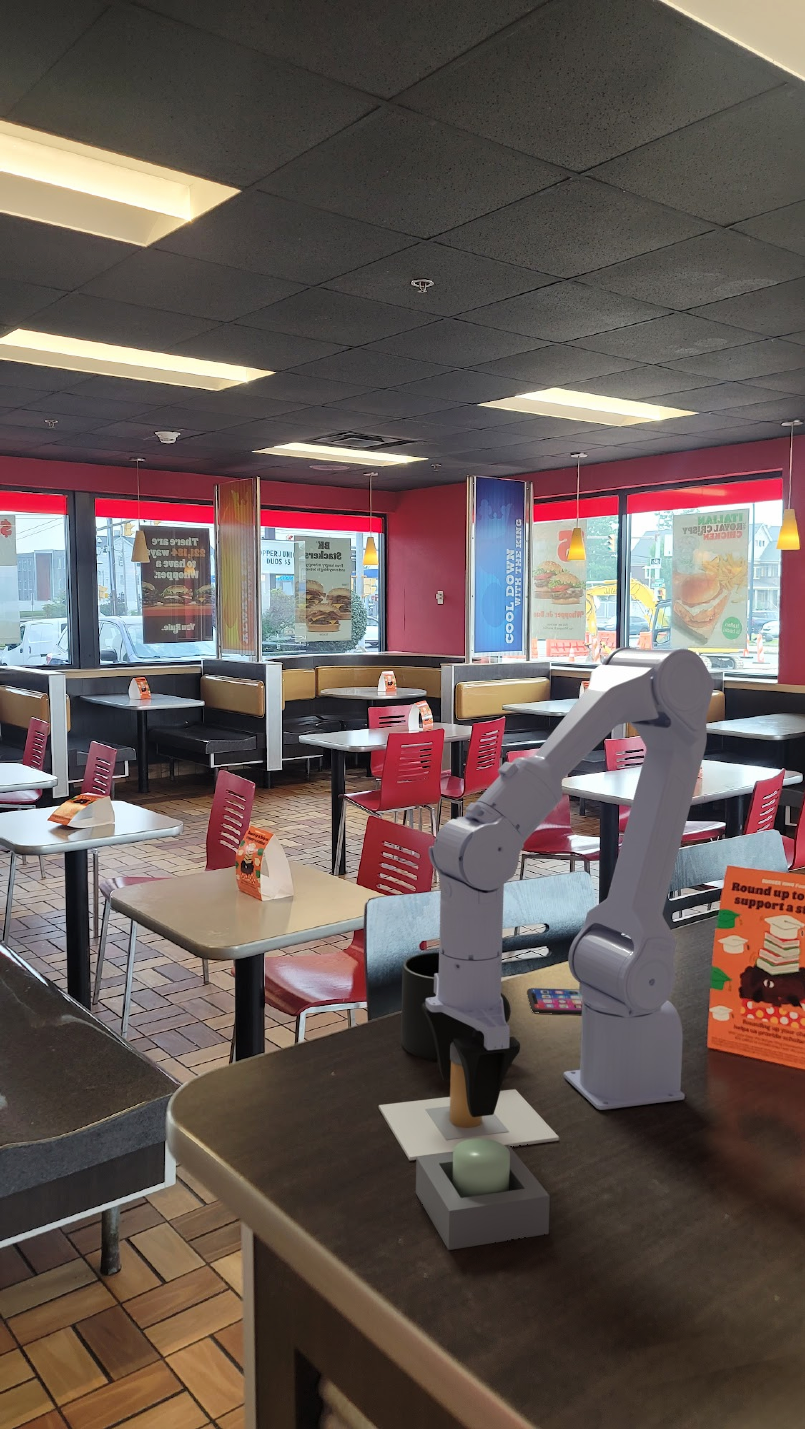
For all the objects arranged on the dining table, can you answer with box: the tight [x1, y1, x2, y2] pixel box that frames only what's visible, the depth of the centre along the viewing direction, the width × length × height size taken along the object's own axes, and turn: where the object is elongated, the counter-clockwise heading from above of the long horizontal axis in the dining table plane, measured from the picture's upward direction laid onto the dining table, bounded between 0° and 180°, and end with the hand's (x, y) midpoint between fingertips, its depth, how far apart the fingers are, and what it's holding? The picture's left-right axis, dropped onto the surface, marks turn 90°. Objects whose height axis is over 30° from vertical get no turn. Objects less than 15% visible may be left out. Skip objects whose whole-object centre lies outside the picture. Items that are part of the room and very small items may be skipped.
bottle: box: [449, 1042, 482, 1128], centre depth 95 cm, size 3×3×7 cm
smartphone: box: [526, 987, 583, 1015], centre depth 127 cm, size 8×1×15 cm
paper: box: [378, 1088, 560, 1162], centre depth 95 cm, size 14×10×1 cm
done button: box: [452, 1138, 510, 1198], centre depth 80 cm, size 4×4×3 cm
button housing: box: [415, 1145, 551, 1251], centre depth 80 cm, size 8×8×3 cm
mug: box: [400, 951, 512, 1062], centre depth 112 cm, size 9×12×9 cm
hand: (466, 1095), depth 95 cm, fingers open, 7 cm apart
